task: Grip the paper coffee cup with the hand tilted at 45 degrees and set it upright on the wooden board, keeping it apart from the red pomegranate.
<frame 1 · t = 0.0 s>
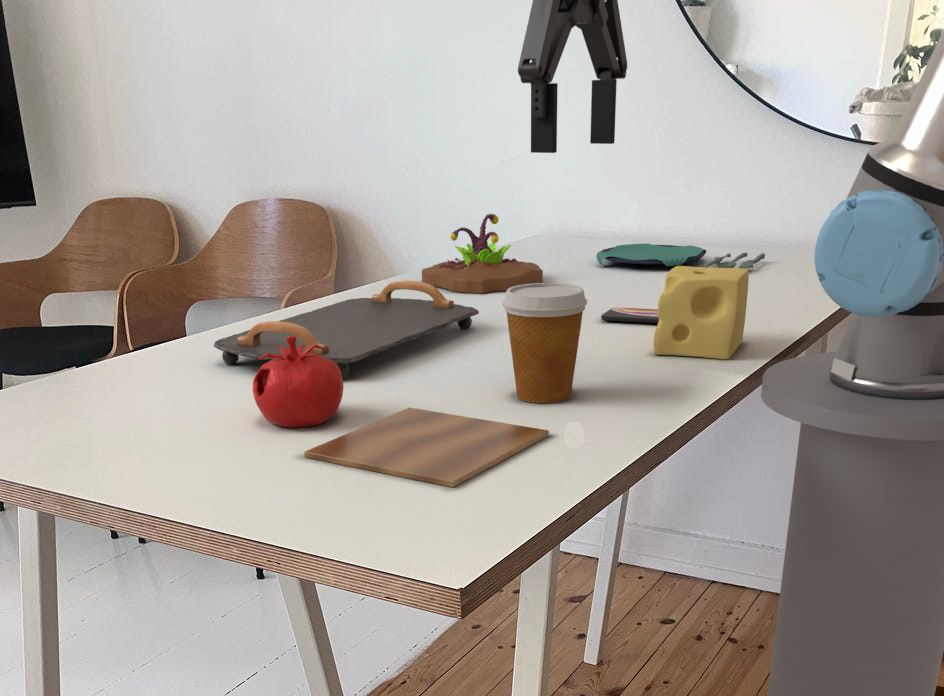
hand: (574, 148, 121), 26 cm above the table, tool pointing down, fingers open, 13 cm apart
plant: (484, 283, 195), on the table
pomegranate: (301, 421, 122), on the table
serving tray: (354, 347, 153), on the table
wooden board: (429, 446, 112), on the table
cheese: (700, 350, 147), on the table
smartphone: (654, 320, 163), on the table
disposable coffee cup: (543, 397, 128), on the table
cutlery set: (676, 265, 206), on the table
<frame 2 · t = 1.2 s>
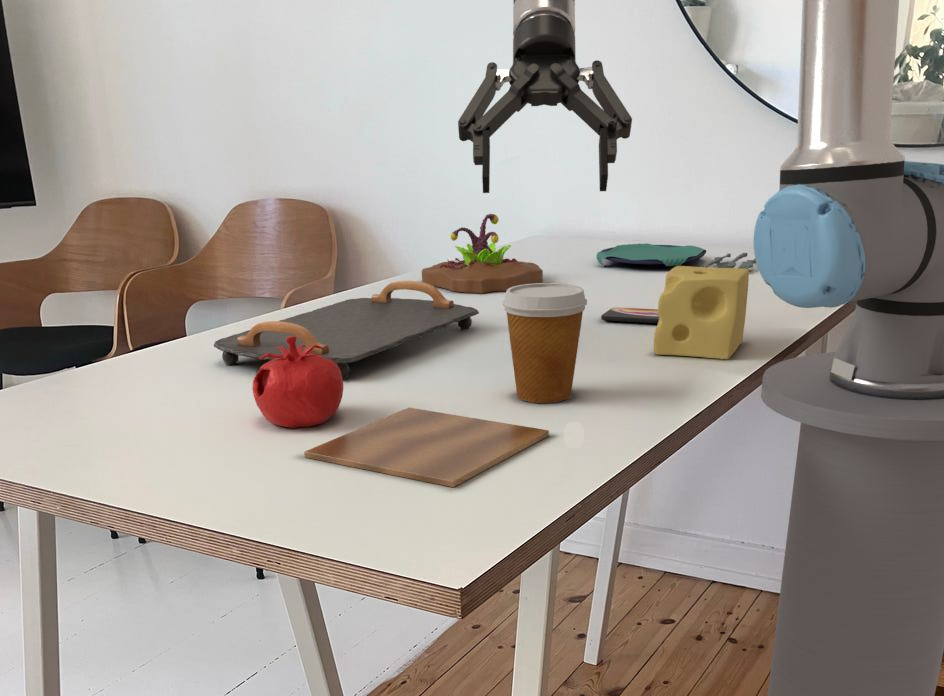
hand: (544, 184, 127), 22 cm above the table, tool tilted 45°, fingers open, 13 cm apart
nothing on the table moved.
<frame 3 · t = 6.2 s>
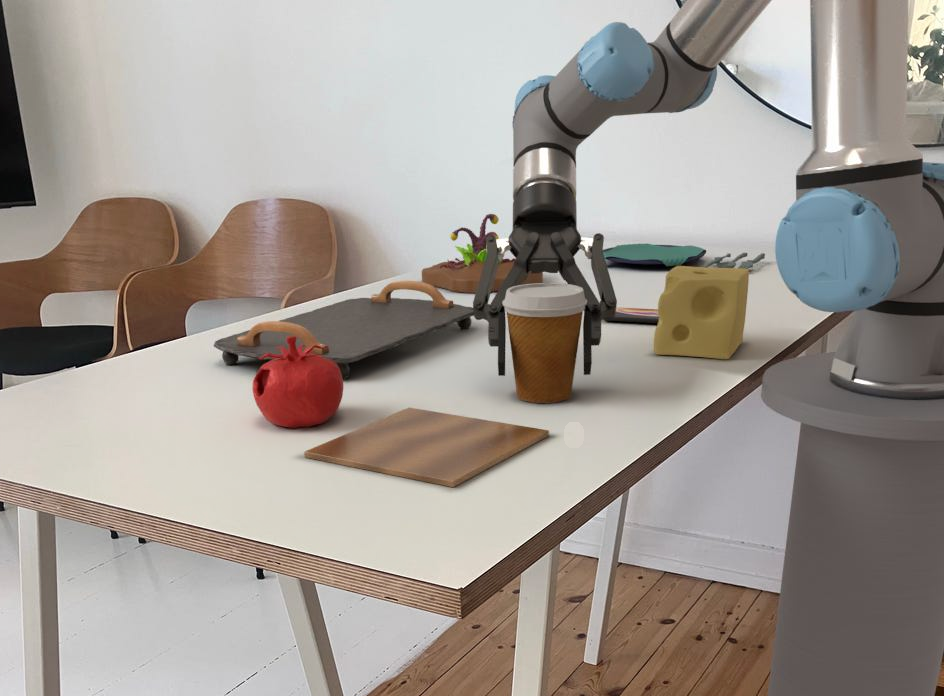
hand: (544, 368, 123), 4 cm above the table, tool tilted 45°, fingers closed on disposable coffee cup, 9 cm apart
disposable coffee cup: (543, 397, 128), on the table, touching gripper
everything else where it was.
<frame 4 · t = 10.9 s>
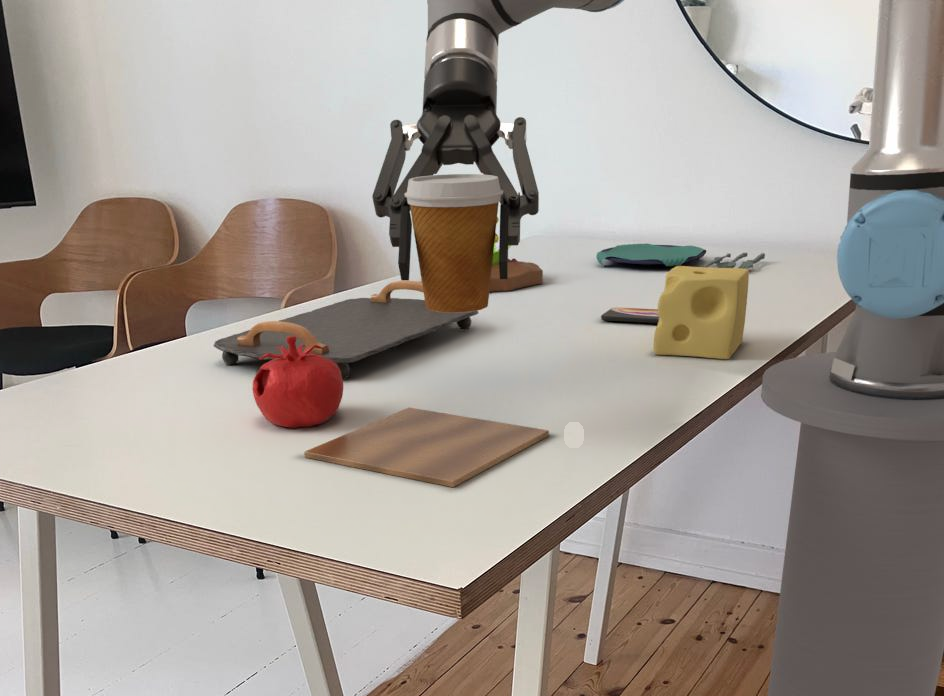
hand: (453, 271, 106), 17 cm above the table, tool tilted 45°, fingers closed on disposable coffee cup, 9 cm apart
disposable coffee cup: (456, 308, 111), point 13 cm above the table, touching gripper
everything else where it was.
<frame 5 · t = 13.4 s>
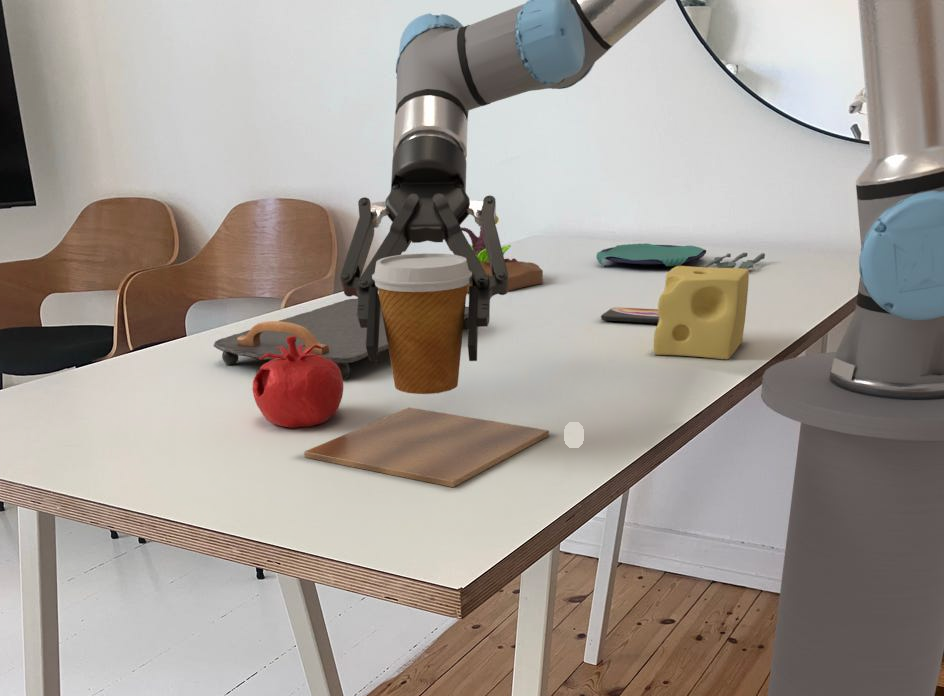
hand: (421, 353, 105), 10 cm above the table, tool tilted 45°, fingers closed on disposable coffee cup, 9 cm apart
disposable coffee cup: (426, 388, 109), point 6 cm above the table, touching gripper
everything else where it was.
when the fingers open (5 cm above the table, at t = 15.5 s): disposable coffee cup stays where it is, resting on wooden board.
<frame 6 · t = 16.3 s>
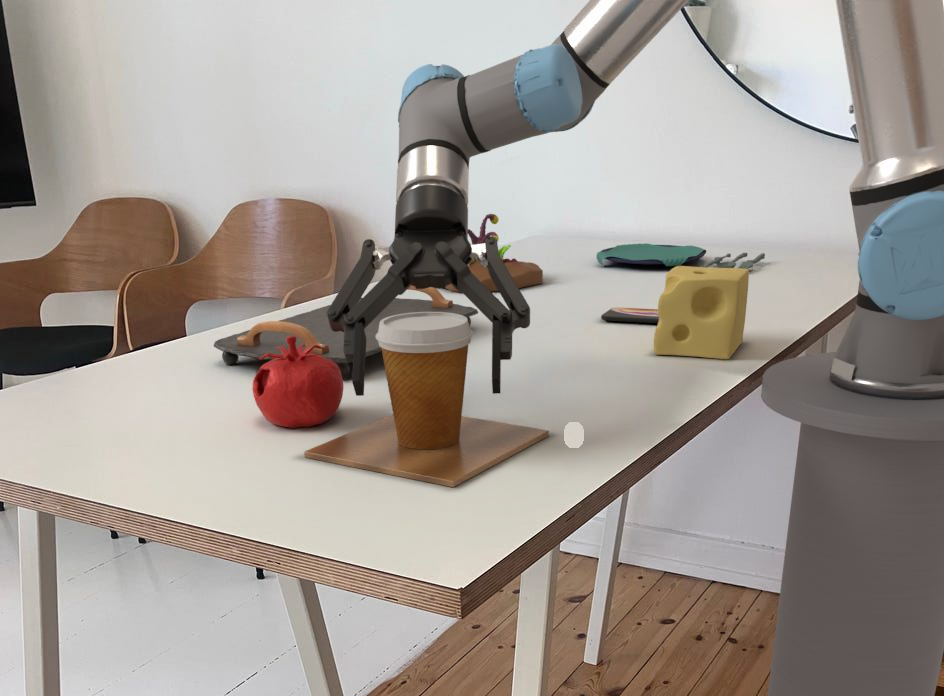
hand: (426, 387, 107), 7 cm above the table, tool tilted 45°, fingers open, 13 cm apart
disposable coffee cup: (428, 442, 112), resting on wooden board
everything else where it was.
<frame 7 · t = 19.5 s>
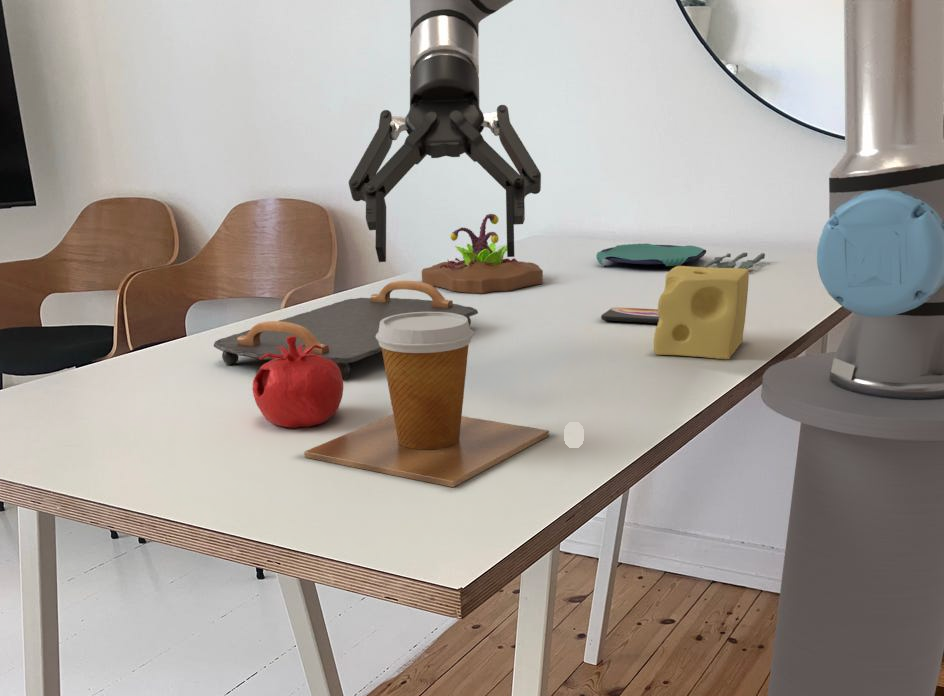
hand: (445, 252, 114), 17 cm above the table, tool tilted 40°, fingers open, 13 cm apart
nothing on the table moved.
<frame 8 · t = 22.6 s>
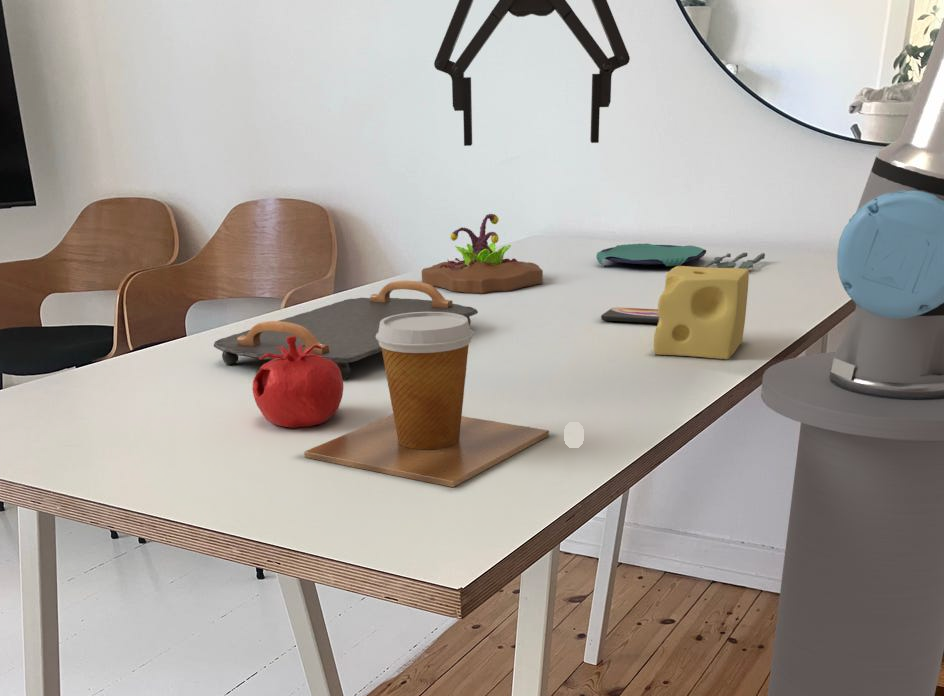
hand: (531, 143, 118), 27 cm above the table, tool pointing down, fingers open, 13 cm apart
nothing on the table moved.
at the end: disposable coffee cup inside the target area (0.1 cm from its centre), resting on wooden board; disposable coffee cup tilted 0°; the gripper is holding nothing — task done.
